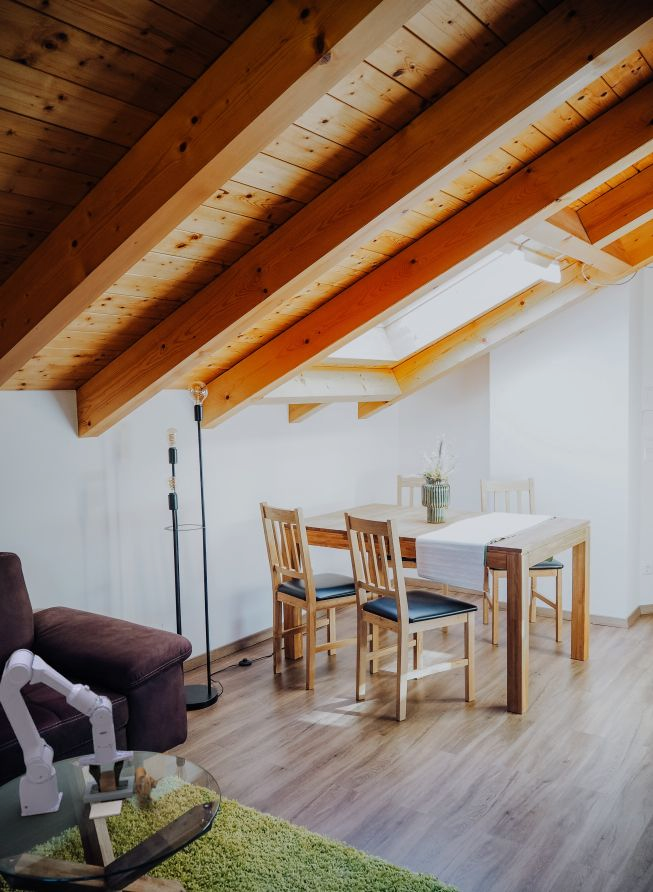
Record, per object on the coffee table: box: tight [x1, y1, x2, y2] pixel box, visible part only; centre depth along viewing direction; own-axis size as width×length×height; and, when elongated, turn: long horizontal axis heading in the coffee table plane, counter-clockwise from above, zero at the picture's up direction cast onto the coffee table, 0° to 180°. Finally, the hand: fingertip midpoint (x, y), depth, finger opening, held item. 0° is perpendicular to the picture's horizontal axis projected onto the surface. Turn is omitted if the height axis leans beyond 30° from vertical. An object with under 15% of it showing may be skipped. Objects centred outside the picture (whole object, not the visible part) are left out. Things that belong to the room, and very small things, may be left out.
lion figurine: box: [133, 766, 159, 806], centre depth 210 cm, size 15×5×9 cm, turn 31°
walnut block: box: [100, 769, 119, 793], centre depth 213 cm, size 4×4×5 cm
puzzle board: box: [82, 775, 136, 804], centre depth 213 cm, size 13×8×2 cm, turn 98°
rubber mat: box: [89, 799, 123, 820], centre depth 206 cm, size 8×6×1 cm
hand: (109, 786), depth 213 cm, fingers closed on walnut block, 4 cm apart
